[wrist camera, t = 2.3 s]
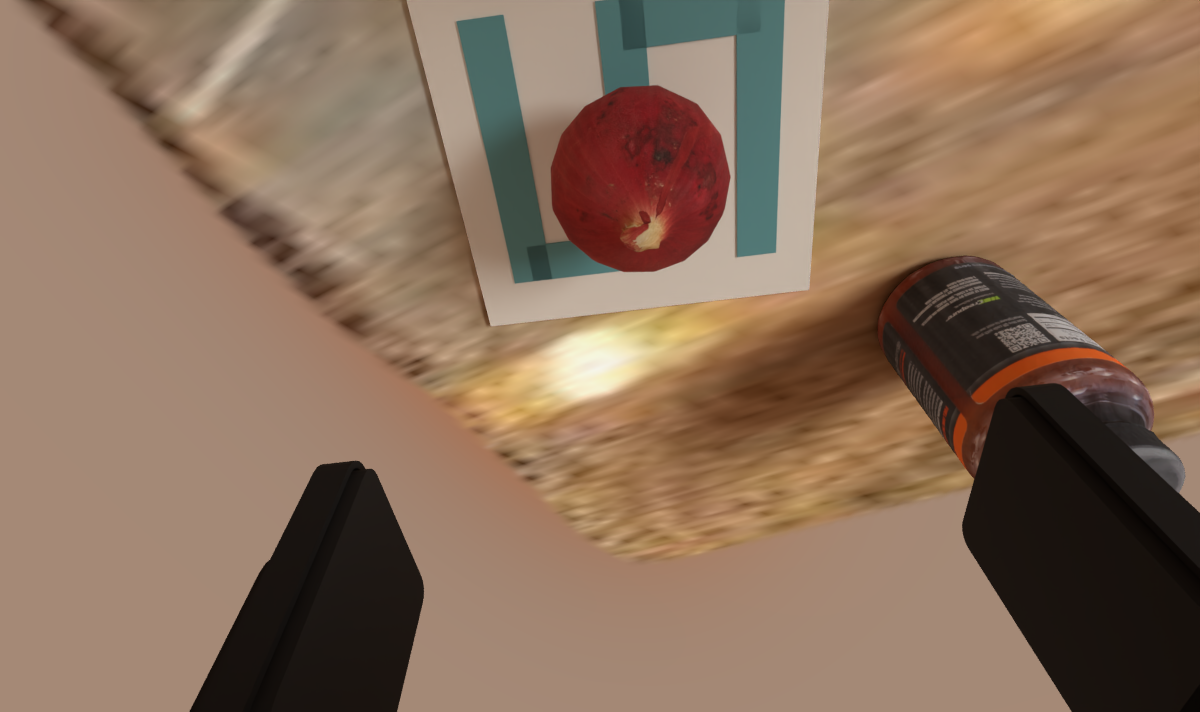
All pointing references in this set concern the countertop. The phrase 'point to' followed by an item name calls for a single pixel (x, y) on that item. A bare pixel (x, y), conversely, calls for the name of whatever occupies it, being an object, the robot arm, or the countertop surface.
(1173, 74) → the countertop surface
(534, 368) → the countertop surface
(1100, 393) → the supplement bottle
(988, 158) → the countertop surface
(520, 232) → the letter board
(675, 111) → the onion
